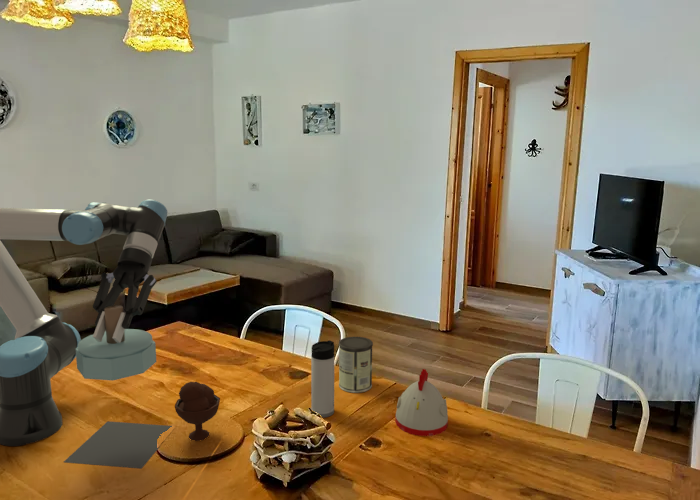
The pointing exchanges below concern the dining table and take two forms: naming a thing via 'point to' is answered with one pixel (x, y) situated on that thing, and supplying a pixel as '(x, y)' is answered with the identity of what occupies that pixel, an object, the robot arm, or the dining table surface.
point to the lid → (115, 351)
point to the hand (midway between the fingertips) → (106, 339)
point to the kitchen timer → (422, 409)
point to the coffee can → (355, 364)
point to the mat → (119, 445)
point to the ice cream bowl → (197, 407)
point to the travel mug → (322, 378)
